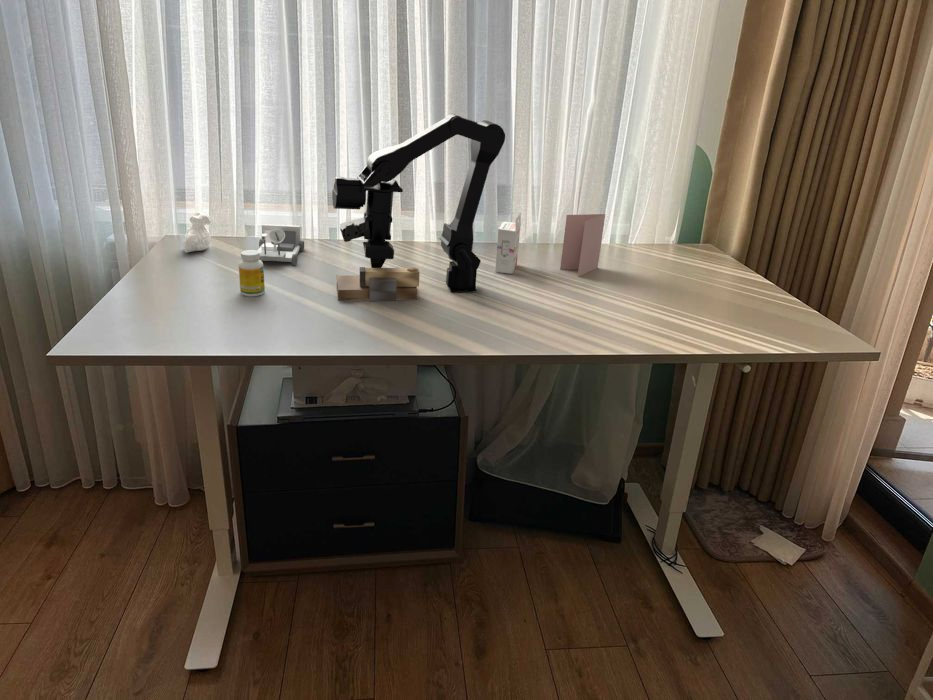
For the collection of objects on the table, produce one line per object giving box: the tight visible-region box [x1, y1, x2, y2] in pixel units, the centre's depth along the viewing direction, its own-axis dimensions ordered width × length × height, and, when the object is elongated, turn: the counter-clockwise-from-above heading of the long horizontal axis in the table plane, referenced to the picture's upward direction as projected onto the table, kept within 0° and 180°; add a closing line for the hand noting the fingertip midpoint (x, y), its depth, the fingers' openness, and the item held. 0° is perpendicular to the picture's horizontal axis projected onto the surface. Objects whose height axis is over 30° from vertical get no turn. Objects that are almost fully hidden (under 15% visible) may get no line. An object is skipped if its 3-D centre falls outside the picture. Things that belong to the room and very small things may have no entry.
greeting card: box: [559, 213, 606, 277], centre depth 189 cm, size 11×7×15 cm, turn 108°
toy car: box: [256, 223, 305, 266], centre depth 185 cm, size 18×10×12 cm
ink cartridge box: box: [494, 212, 522, 275], centre depth 187 cm, size 9×5×15 cm, turn 168°
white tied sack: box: [182, 210, 212, 253], centre depth 187 cm, size 12×8×11 cm
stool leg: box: [359, 266, 421, 288], centre depth 164 cm, size 14×3×4 cm, turn 100°
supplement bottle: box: [238, 249, 265, 297], centre depth 160 cm, size 5×5×10 cm
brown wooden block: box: [336, 275, 419, 302], centre depth 166 cm, size 18×11×5 cm, turn 102°
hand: (374, 275), depth 166 cm, fingers closed
